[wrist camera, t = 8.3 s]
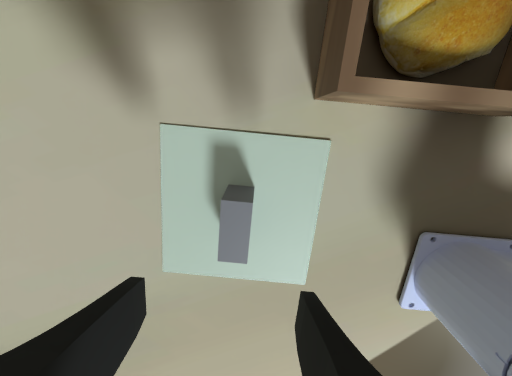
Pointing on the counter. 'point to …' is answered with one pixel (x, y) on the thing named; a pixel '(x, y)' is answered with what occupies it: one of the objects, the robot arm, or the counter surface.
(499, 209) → the counter surface
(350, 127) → the counter surface
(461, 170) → the counter surface
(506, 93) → the box
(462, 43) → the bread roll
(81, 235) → the counter surface
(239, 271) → the lid
